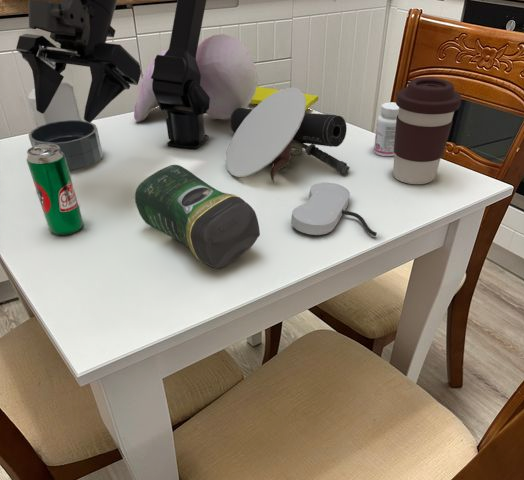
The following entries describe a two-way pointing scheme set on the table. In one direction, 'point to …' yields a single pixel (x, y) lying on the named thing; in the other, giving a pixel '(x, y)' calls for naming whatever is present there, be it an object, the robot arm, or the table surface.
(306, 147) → the knife
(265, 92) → the sign
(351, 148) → the table surface
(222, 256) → the coffee jar
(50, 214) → the soda can
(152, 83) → the robot arm
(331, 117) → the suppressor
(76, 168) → the grey ribbed bowl
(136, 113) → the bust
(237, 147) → the round grey base figurine
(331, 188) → the game controller
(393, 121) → the pill bottle
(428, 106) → the coffee cup
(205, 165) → the table surface
